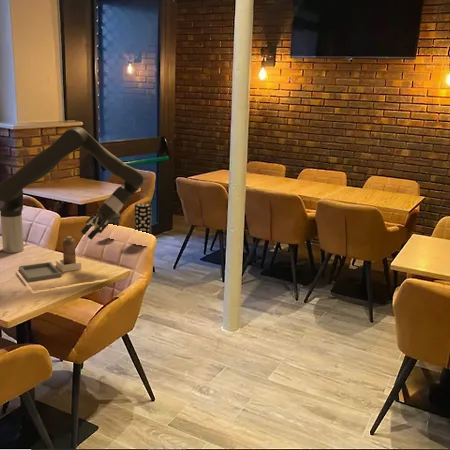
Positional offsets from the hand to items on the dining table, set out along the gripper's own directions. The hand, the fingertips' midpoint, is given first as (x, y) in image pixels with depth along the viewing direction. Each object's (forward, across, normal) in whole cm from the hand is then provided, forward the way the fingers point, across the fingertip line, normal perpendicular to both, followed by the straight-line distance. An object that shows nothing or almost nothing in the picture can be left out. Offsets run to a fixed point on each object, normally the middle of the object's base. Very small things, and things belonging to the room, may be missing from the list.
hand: (85, 235), depth 222 cm
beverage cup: (-10, -38, +30) cm, 49 cm away
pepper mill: (+14, 0, +4) cm, 15 cm away
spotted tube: (-17, -23, +37) cm, 46 cm away
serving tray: (+24, +2, -4) cm, 25 cm away
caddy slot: (+15, 0, +5) cm, 16 cm away
